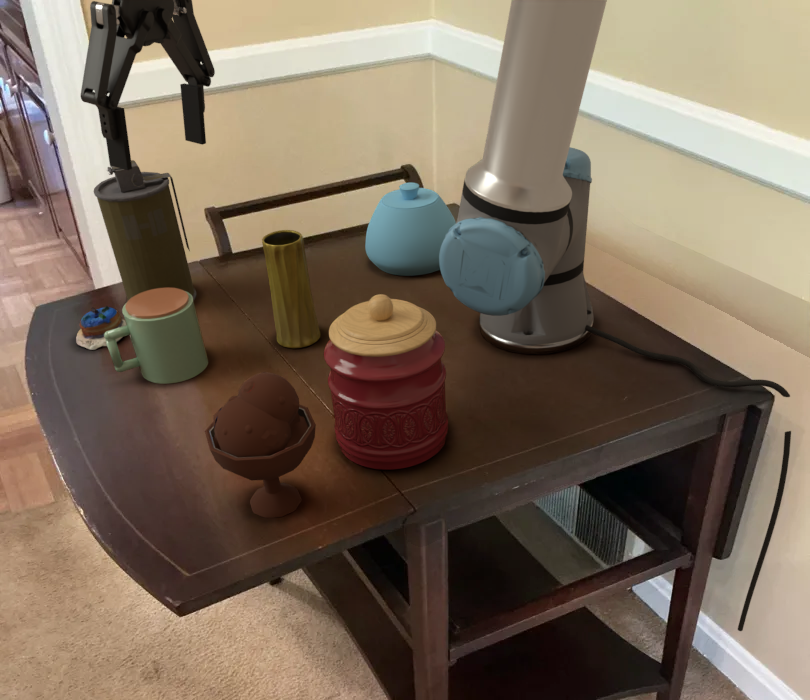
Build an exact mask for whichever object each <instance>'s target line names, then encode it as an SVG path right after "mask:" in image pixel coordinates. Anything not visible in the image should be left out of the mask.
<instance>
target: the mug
mask: <svg viewBox="0 0 810 700" xmlns="http://www.w3.org/2000/svg"><path fill="white" fill-rule="evenodd" d="M121 312H122V316H123V320H125V322H126V326H123V327H119V328H116V329H112V330H109V331H106V332H105V333H104V337H105V340H106V343H107V346H106V347H107V349H108V353H109V356H110V359H111V361H112V364H113V367H114V370H115V371H116V373H123V372H126V371H129V370H133V369H136V368H139V370H140V374H141V376H142V377H143V378H144V379H145V380H146V381H148V382H151V383H154V384H163V385H164V384H167V385H169V384H177V383H181V382H185V381H188V380H191V379H192V378H195V377H197V376H198V375H200V374H201V373H203V372H204V371H205V370H206V368H207V367H208V365H209V357H208V353H207V348H206V344H205V340H204V337H203V333H202V329H201V325H200V321H199V317H198V313H197V309H196V305H195V300H193V297H192V295H191V294H190V293H188V292H186V291H184V290H181V289H178V288H157V289H151V290H148V291H144V292H142V293H139V294H137V295H135V296H134V297H132V298H131V299H129V300H128V299H127V301H126V303H124V305H123V307H122V309H121ZM127 336H129V338H130V342H131V345H132V348H133V351H134V355H135V357H134V358H130V359H126V360H123V359H122V355H121V352H120V349H119V346H118V342H116V340H115V339H117V338H120V337H122V338H123V337H127Z"/></svg>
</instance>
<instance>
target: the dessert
mask: <svg viewBox="0 0 810 700" xmlns="http://www.w3.org/2000/svg"><path fill="white" fill-rule="evenodd" d="M123 326H126V322H125V319H123V317H122V315H121V314H120V312H119V311H118V309H115V308H114V307H110V306H108V305H106V306H103V307H100V308H96V307H95V308H94V307H93V306H91V310H89V311H88V312H86V313H85V314H84V315H83V316H82V317H81V318H80V321H79V328H80V329H79V330H78V331H77V333H76V337H75V343H76V344H77V346H80V347H82V348H86V349H87V350H93V351H95V350H97V349H99V348H101V347H108V346H107V343H106V340H105V337H104V333H105V332H106V331H109V330H112V329H116V328H119V327H123ZM121 339H123V337H120V338H117V339H115V340H116V343H118V342H119V341H120V340H121Z"/></svg>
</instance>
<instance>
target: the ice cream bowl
mask: <svg viewBox="0 0 810 700" xmlns="http://www.w3.org/2000/svg"><path fill="white" fill-rule="evenodd" d="M316 426H317V425H316V423H315V420H314V418H313V416H312V413H311V412H310V409H309V407H308V406H306V405H302V404H300V398H299V396H298V393H297V391H296V389H295V388H294V386H293V385H292V384H291V383H290V382H289V381H288V380H287V378H286V377H284V376H281V375H279V374H277V373H274V372H267V371H262V372H260V373H256V374H254V375H252V376H250V377H249V378H247V379H246V380H245V381H243V382H242V384H241V385H240V387H239V388H238V390H237V395H233V396H230V398H228V400H227V401H226V402H225V403H224V404H223V406H221V407H220V408H219V409H218V410H217V411H216V412H215V413H214V414H213V420H212V422H211V423H210V424H209V426H208V427H207V428H206V429H205V430H204V433H205V438H206V441H207V444H208V448H209V451H210V453H211V455H212V457H213V459H214V460H215V462H216V463H217V464H218V465H219V466H220V468H222V469H223V470H225V471H229V472H231V473H233V474H234V475H238V476H239V477H242V478H245V479H247V480H249V481H262V482H263V486H262V487H259V488H258V489H256V490H255V492H254V493H253V495H252V496H251V498H250V500H249V504H250V507H251V510H252V513H253V514H256V515H257V516H259V517H262V518H264V519H265V518H266V519H269V518H270V519H271V518H282V517H284V516H287V515H288V514H290V513H292V512H295V511H296V510H297V508H298V507H299V506H300V504H301V502H302V497H301V495H300V493H299V490H298V488H297V487H296V486H293V485H291V484H289V483H286V482H281V480H280V477H282V476H284V475H287V474H289V473H291V472H293V471H294V470H295V469H296V468H297V467H298V466H300V465H301V464H302V461H304V459H305V457H306V456H307V454H308V452H310V450H311V448H312V447H313V444H314V440H315V438H316V429H317V428H316Z"/></svg>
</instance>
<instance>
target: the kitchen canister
mask: <svg viewBox="0 0 810 700" xmlns="http://www.w3.org/2000/svg"><path fill="white" fill-rule="evenodd" d="M328 337H329V340H328V341H327V342H326V344H325V346H324V350H323V358H324V362H325V363H326V365H327V366H328V367H329V369H330V371H329V373H328V376H327V385H328V388H329V391H330V394H331V395H330V396H331V402H332V409H333V415H334V433H335V439H336V441H337V443H338V445H339V448H340V451H341V453H342V454H343V455H344V456H345V457H346V458H347V459H348V460H350V461H351V462H352V463H355V464H357V465H360V466H362V467H365V468H368V469H374V470H385V471H386V470H387V471H388V470H400V469H406V468H411V467H414V466H417V465H420V464H422V463H424V462H427V461H428V460H430V459H431V458H432V457H434V456H435V455H437V454H438V453H439V452H440V451H441V449H443V447H444V446H445V443H446V440H447V434H448V431H449V415H448V412H447V398H446V378H447V369H446V366H445V364H444V362H443V361H442V358H443V355H444V353H445V352H446V341H445V338H444V337H443V335H442V334H441V333H440V332H439V330H437V321H436V318H435V317H434V316H433V314H431V312H429V311H428V310H426V309H424V308H422V307H420V306H418V305H416V304H415V303H413V302H410V301H407V300H403V299H396V298H390V297H389V296H388V295H386V294H382V293H381V294H380V293H379V294H378V293H377V294H376V295H372V296H371V298H370V299H369V300H366V301H362V302H360V303H358V304H355V305H353V306H350V308H348V309H347V310H346V311H345V312H344V313H342V314H340V315H339V316H337V318H335V319H334V320H333V321H332V323H331V324H330V326H329V328H328Z"/></svg>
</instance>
